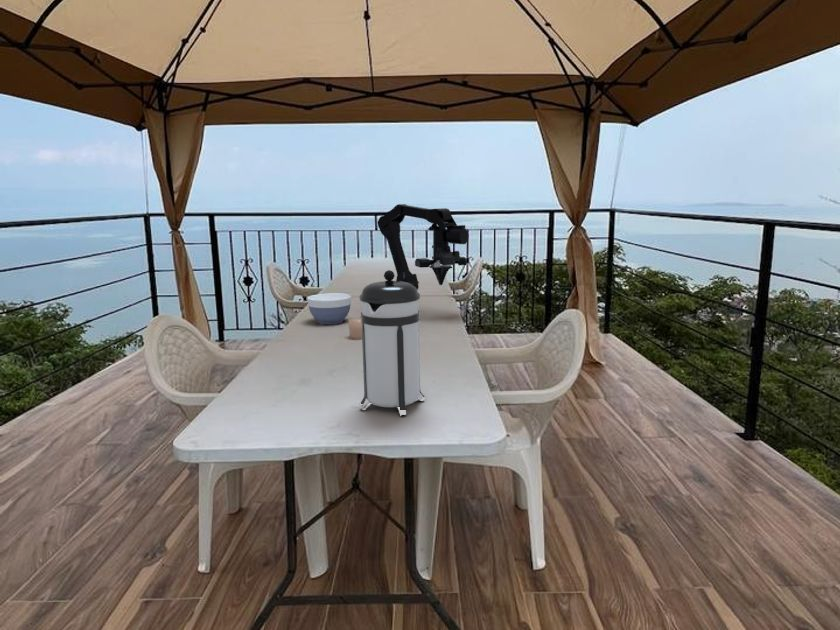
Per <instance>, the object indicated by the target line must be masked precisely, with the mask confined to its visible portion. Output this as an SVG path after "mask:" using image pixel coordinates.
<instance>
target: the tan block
mask: <svg viewBox="0 0 840 630" xmlns="http://www.w3.org/2000/svg"><path fill="white" fill-rule="evenodd" d="M348 329H349V330H348V331H349V339H350V338H351V340H362V322H361V317H352V318H349V319H348Z"/></svg>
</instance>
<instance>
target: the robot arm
mask: <svg viewBox="0 0 840 630" xmlns="http://www.w3.org/2000/svg"><path fill="white" fill-rule="evenodd" d="M406 216H407V217H411V218H416V219H423V220H426V221H427V222H428V223H431V226H429V228H428V231H432V232H433V233H432V237H433V238H432V239H433V240H432V245H431V248H432V250H433V252H432V255H433V256H431V259H429V258H427V257H423V258H421V257H419V258H416V259H415V260H414V266H415V267H417V268H422V269H423V268H431V269H432V271H433V273H434V275H435V278H436V280H437V283H438V285H439V286H443V284H444V283H445V282H444V281H445V279H446V277H447V276H446V275H447V273H448V271H449V270H450V269H453V266H454V265H455V264H457V265H458V266H467V265H468V263H467V258H466V257H464V256H460V254H461V253H460V251H459V250H453V251H451V246H450V245H449V244H451V245H452V244H453V245H466V244H467V243H468V241H469V237H470V236H469V232H468V230H467V228H466V225H465V224H460V225H459V224H457V222H456V221H455V220H454V218H453V216H452V213H451V210H450V209H449V208H446V207H445V208H444V207H443V208H425V207H421V206H414V205H409V204H405V203H402V204H401V203H399V204H396V205H395V206H394V207H392V209H390V210H389V211H387V212H385V214H383V215H381V216H380V217H379V218H378V220H377V227H378V229H379V231H380V234H381V235H382V236H383V237H384V238H385V239H386V241H387V243H388V248H389V251H390V253H391V257H392V260H393V264H394V268H395V270H396V279H395V281H401V282H407V283H410V284H412V285H413V286H415V287H416V289H417V291H419V287H420V286H419V284H420V282H419V280H418V277H417V273H412V272H411V270H410V268H409V265H408V261H407V258H406V255H405V250H404V248H403V245H402V241H401V238H400V233H401V223H403V221H404V219H405V217H406Z"/></svg>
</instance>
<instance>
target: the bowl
mask: <svg viewBox="0 0 840 630" xmlns="http://www.w3.org/2000/svg"><path fill="white" fill-rule="evenodd" d="M351 304H352V296H351V294H347V293H341V292H340V293H337V292H336V293H335V292H332V293H331V292H329V293H319V294H313V295H309V296H307V305H308V308H309V313H310V314H311V316H312V317H313V319H315V320H316V322H318V324H319V323H320V325H324V324H332V325H339V324H342V323H343V322H344V320H345V319H346V318H347V316H348V314H349V313H350V310H351ZM341 322H342V323H341ZM338 323H339V324H338Z"/></svg>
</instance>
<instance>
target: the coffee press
mask: <svg viewBox="0 0 840 630" xmlns="http://www.w3.org/2000/svg"><path fill="white" fill-rule="evenodd" d="M383 277H384V279H385V280H384V281H377V282H371V283H369V284H367V285H366V286H364V287H363V289H362V291H361V294H360V295H359V300H360V302H361V312H360V318H361V322H362V339H361V342H362V365H363V366H362V367H363V371H362V372H363V398H362V400H361V401H360V403H361V404H363V405H364V404H365V402H366V400H367V402H368V403H369V402H370V403H372V405H374V406H377V407H382V408H396V407H400V410H407V408H406V407H407V406H409V405H410V404H413V403H415V402H416V401H418V400H419V397H420V395H421V397H422V396H423V397H425V395H424V393H422V392H421V379H420V377H421V376H420V373H421V372H420V371H421V370H420V323H419V321H420V318H421V317H420V310H419V301H420V298H421V294H420V293H419V292H418V290H417V289H416V287H415V286H413V285H412V284H410V283H407V282H401V281H396V280H394V278H395V273H394V271H392V270H390V269H388V270H386V271H385V272H384V274H383ZM417 399H418V400H417Z"/></svg>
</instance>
